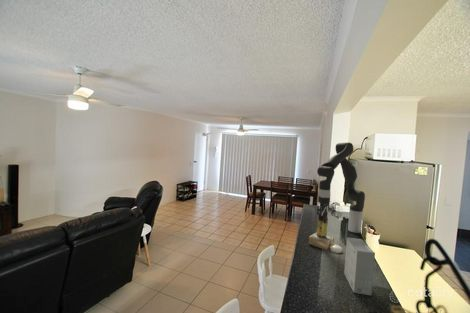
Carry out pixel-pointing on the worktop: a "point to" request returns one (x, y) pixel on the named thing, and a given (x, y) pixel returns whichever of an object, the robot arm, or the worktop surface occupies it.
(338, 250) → the white round dome
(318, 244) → the plinth
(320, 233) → the sauce bottle
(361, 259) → the hard drive box
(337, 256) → the worktop surface
